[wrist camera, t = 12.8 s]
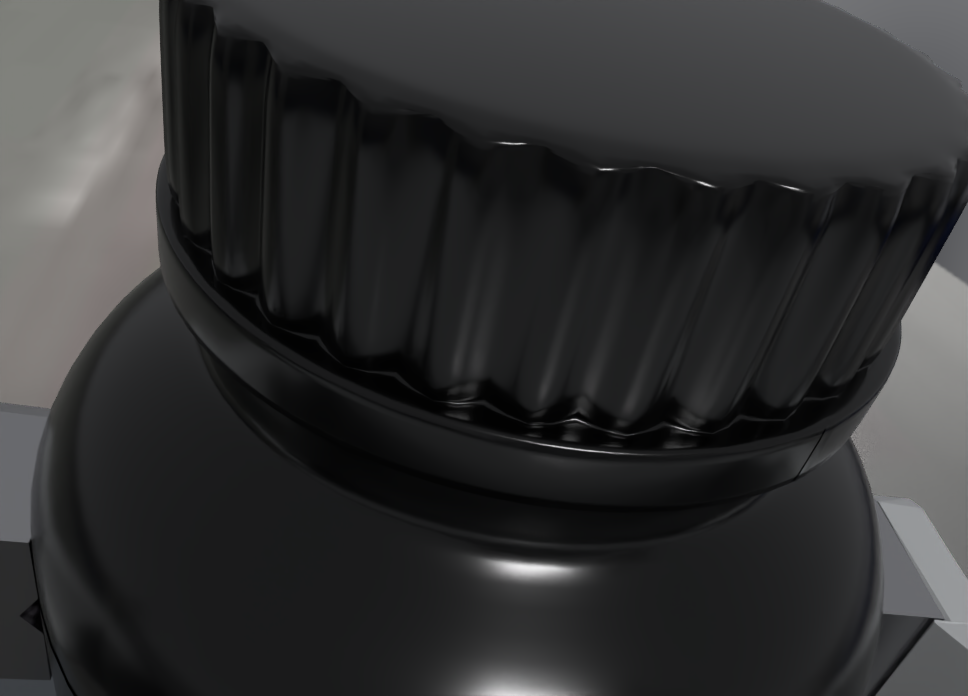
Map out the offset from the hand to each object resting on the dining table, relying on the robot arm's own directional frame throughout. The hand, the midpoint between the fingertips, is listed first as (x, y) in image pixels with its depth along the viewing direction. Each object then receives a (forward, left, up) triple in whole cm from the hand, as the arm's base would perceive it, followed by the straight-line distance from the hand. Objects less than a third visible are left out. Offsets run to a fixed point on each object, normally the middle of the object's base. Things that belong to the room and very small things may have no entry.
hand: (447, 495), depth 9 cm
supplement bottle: (0, -1, -7) cm, 7 cm away
